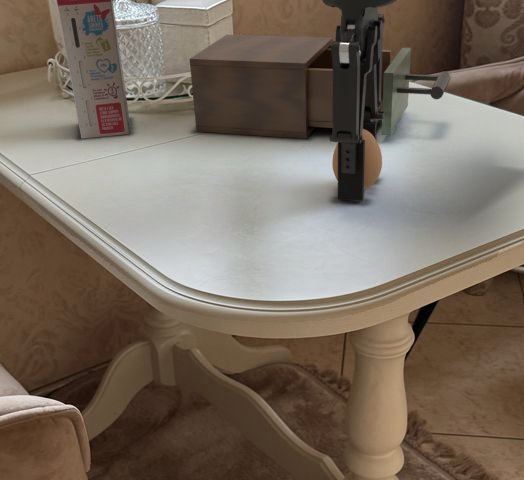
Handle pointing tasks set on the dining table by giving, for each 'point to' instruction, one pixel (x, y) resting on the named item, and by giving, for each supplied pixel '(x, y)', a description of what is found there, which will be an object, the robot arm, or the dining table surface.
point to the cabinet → (254, 85)
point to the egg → (366, 160)
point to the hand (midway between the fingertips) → (356, 187)
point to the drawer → (391, 89)
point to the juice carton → (95, 66)
